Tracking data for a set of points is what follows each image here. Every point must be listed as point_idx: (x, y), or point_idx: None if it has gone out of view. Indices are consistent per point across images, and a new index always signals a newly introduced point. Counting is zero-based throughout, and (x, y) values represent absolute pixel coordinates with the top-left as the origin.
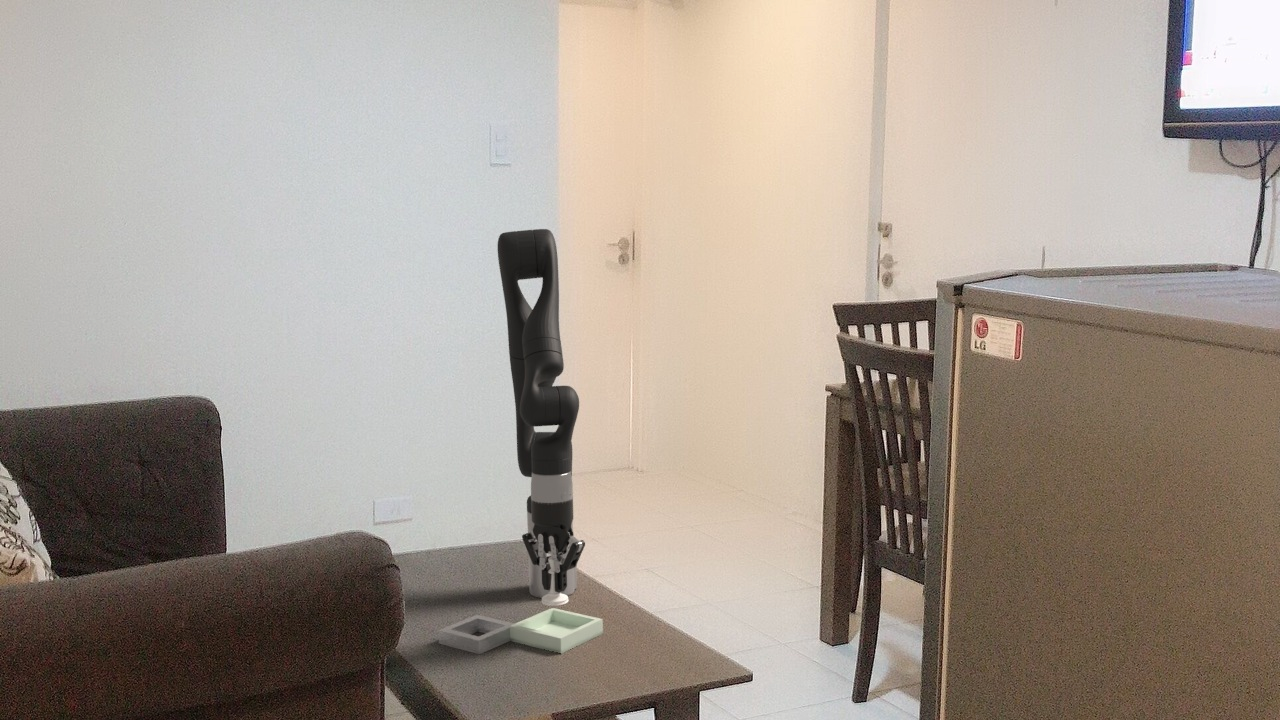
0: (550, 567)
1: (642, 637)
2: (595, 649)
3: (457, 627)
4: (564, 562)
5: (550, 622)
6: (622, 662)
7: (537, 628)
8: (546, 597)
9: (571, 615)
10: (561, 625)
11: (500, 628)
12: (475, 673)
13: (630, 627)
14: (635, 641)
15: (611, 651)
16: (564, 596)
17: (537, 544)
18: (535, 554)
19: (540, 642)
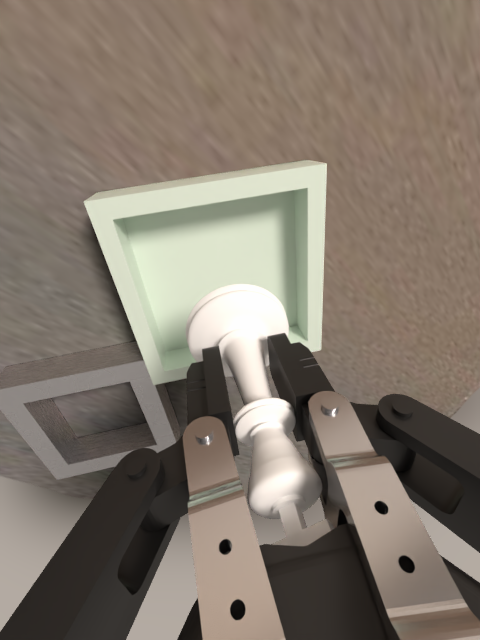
0: (229, 433)
1: (429, 90)
2: (355, 260)
3: (58, 448)
4: (407, 492)
5: (124, 225)
6: (447, 271)
7: (143, 284)
8: (230, 370)
9: (202, 204)
10: (173, 219)
11: (143, 398)
12: (247, 457)
13: (348, 24)
14: (422, 139)
15: (396, 243)
16: (275, 322)
17: (85, 629)
18: (153, 561)
19: None
